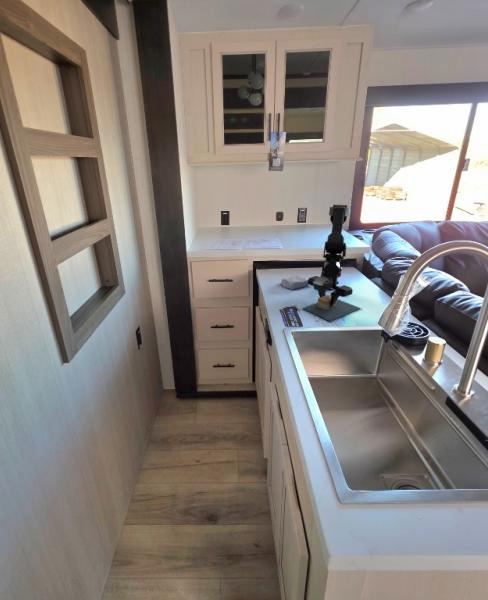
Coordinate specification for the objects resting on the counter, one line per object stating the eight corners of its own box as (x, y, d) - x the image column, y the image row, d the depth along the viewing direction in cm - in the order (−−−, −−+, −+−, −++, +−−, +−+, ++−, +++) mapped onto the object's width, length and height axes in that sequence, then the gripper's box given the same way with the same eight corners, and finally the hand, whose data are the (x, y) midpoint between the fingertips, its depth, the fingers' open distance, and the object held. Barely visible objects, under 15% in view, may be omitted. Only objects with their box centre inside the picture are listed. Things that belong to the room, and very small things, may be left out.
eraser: (327, 302, 138) (328, 294, 137) (335, 306, 135) (337, 297, 133) (316, 306, 134) (317, 298, 133) (325, 310, 131) (326, 301, 129)
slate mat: (332, 298, 144) (332, 297, 143) (360, 308, 133) (360, 308, 133) (302, 309, 133) (302, 308, 133) (329, 321, 123) (330, 320, 122)
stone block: (278, 287, 161) (291, 290, 152) (278, 278, 160) (291, 280, 151) (297, 284, 166) (310, 286, 157) (297, 275, 165) (310, 277, 156)
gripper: (300, 267, 131) (297, 301, 137) (338, 280, 117) (333, 317, 123) (317, 263, 137) (313, 295, 143) (356, 274, 123) (350, 310, 129)
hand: (326, 304), depth 134 cm, fingers closed on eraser, 4 cm apart
